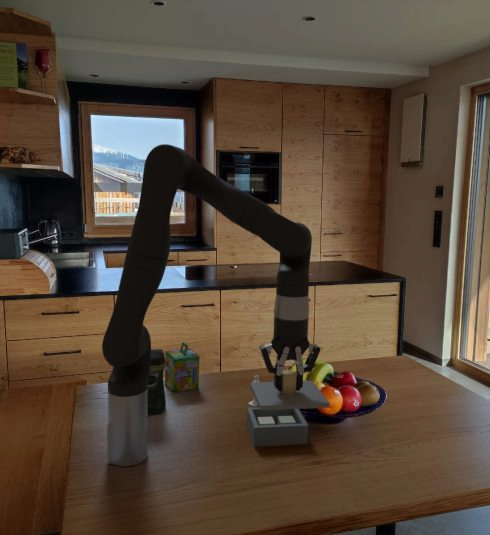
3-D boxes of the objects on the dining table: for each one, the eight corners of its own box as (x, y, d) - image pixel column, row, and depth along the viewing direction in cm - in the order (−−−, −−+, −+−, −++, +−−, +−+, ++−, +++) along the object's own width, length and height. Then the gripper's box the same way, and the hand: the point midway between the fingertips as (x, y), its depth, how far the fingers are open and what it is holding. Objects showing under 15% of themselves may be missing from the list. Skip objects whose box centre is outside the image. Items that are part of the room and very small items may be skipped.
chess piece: (257, 411, 148) (258, 379, 147) (244, 406, 151) (245, 375, 150) (266, 406, 152) (267, 374, 150) (253, 401, 155) (254, 371, 153)
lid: (260, 410, 103) (261, 385, 102) (249, 386, 116) (250, 364, 115) (329, 407, 106) (330, 382, 105) (311, 384, 118) (312, 362, 117)
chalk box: (164, 383, 168) (164, 341, 165) (189, 379, 172) (189, 338, 170) (173, 393, 159) (173, 349, 157) (199, 389, 164) (200, 345, 162)
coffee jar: (165, 404, 151) (165, 345, 149) (166, 415, 144) (166, 353, 141) (132, 405, 149) (132, 346, 147) (132, 417, 142) (131, 355, 139)
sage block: (280, 437, 130) (281, 423, 130) (277, 430, 134) (277, 416, 134) (295, 436, 131) (295, 422, 130) (291, 429, 135) (292, 415, 134)
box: (253, 450, 125) (254, 427, 124) (246, 428, 137) (247, 407, 136) (307, 447, 127) (308, 425, 126) (295, 425, 139) (296, 405, 138)
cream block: (259, 438, 129) (260, 424, 129) (256, 431, 133) (257, 417, 133) (274, 437, 130) (275, 423, 129) (271, 430, 134) (272, 416, 133)
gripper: (262, 319, 103) (260, 397, 106) (328, 318, 105) (324, 395, 108) (256, 310, 111) (254, 384, 113) (317, 310, 113) (313, 382, 115)
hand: (288, 389), depth 110 cm, fingers closed on lid, 3 cm apart
